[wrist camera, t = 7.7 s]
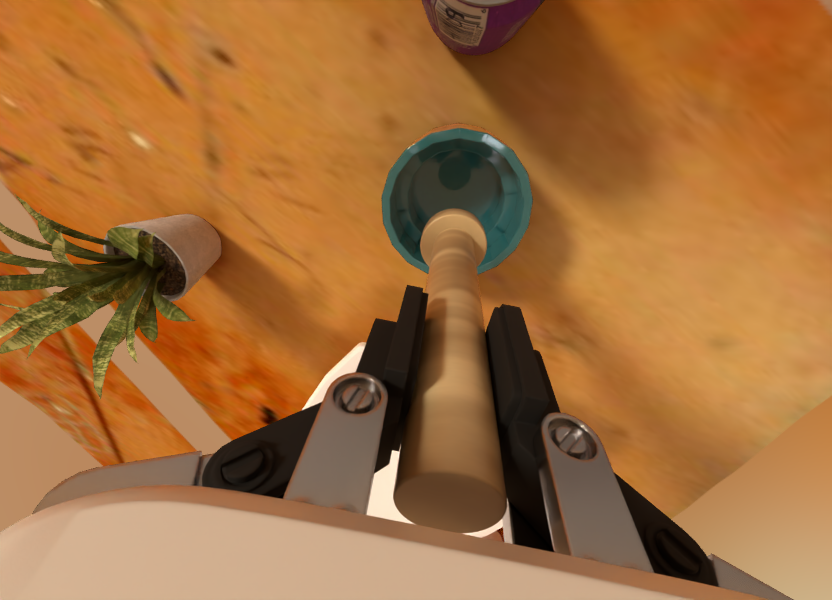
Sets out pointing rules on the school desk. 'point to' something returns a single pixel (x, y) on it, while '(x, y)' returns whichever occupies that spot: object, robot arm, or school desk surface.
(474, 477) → the muddler
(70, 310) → the house plant
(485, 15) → the beverage can
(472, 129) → the mixing bowl
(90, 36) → the school desk surface
